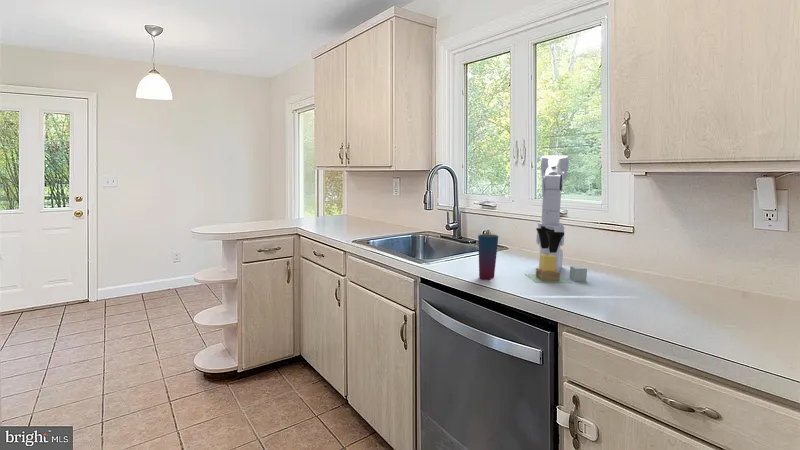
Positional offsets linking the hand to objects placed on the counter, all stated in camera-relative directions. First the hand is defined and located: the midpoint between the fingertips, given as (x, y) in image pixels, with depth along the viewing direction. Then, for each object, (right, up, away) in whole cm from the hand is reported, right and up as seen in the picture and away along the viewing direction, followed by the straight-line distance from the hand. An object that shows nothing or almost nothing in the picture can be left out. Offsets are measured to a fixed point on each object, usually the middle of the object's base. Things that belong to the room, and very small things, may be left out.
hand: (548, 250), depth 144 cm
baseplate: (0, -10, +1) cm, 10 cm away
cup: (-21, -10, +3) cm, 23 cm away
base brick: (0, -10, +1) cm, 10 cm away
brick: (+10, -11, 0) cm, 15 cm away
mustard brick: (0, -7, +1) cm, 7 cm away
